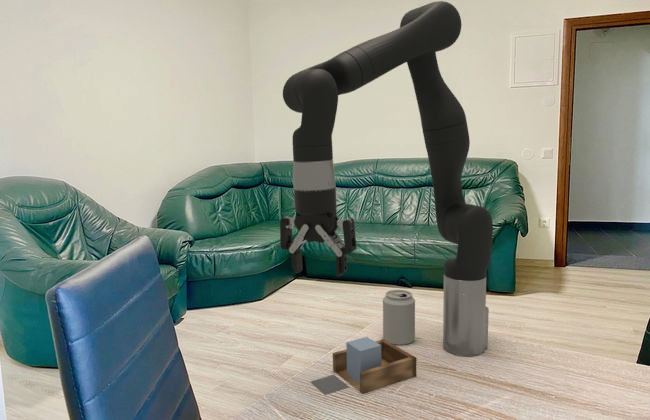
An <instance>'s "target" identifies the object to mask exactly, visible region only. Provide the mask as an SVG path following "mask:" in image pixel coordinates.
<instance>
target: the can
mask: <svg viewBox="0 0 650 420" xmlns="http://www.w3.org/2000/svg"><path fill="white" fill-rule="evenodd" d="M382 337H383V338H382V339H384V340H386V341H388V342H390V343H391V344H393V345H395V346H404V345H409V344H411V343H413V342H414V341H415V339H416V301H415V297H413V293H412V292H411V291H409V290H405V289H390V290H388V291H386V292H385V296H384V297H383V298H382Z"/></svg>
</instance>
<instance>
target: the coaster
mask: <svg viewBox="0 0 650 420" xmlns="http://www.w3.org/2000/svg"><path fill="white" fill-rule="evenodd" d="M310 383H311V384H312V385H313V386H314V387H315V388H316V389H317V390H319V391H320V392H321V393H322V394H323V395H324V396H326V395H329V394H333V393H336V392H339V391H342V390H344V389H347V388H348V389H349V388H350V386H349V385H348V384H346V383H345V382H344V380H343V381H342V379H340V378H339V377H338V376H337V375H335V374H331V375H328V376H324V377H320V378H318V379H314V380H311V381H310Z"/></svg>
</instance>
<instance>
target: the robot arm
mask: <svg viewBox="0 0 650 420" xmlns="http://www.w3.org/2000/svg"><path fill="white" fill-rule="evenodd" d="M461 31H462V18H461V15H460V12H459V11H458V9H457V8H456V6H455V5H453V4H452V3H450V2H448V1H444V0H440V1H432V2H430V3H427V4H425V5H422V6H420V7H416V8H413V9H411V10H409V11H407V12H405V13H404V15H403V16H402V18H401V21H400V24H399V28H397V29H394V30H392V31H389V32H387V33H385V34H384V33H383V35H382V34H381V35H380V36H376V37H374V38H371V39H368V40H366V41H364V42H360V43H359V44H357V45H354V46H352V47H350V48H348V49H346V50H345V51H342V52H340V53H338V54H337V55H335V56H333V57H332V58H330V59H328V60H325V61H323V62H321V63H317V64H316V65H313V66H311V67H308V68H306V69H302V70H300V71H298V72H296V73H294V74H291V76H290V77H288V79H287V80H286V82H285V83H284V85H283V88H282V99H283V101H284V103H285V106H287V107H288V108H289V109H290V110H291V111H293V112H296V113H298V114H299V113H300V114H301V119H300V120H301V121H300V126H299V127H298V128H296V129H295V130H294V131H293V134H292V157H293V158H292V160H293V169H292V186H293V199H294V200H293V201H294V211H295V217H293V216H291V215H286V216H284V217H282V218H280V220H279V231H280V232H279V233H280V234H279V235H280V236H279V237H280V240H279V242H280V243H279V247H280V249H281V250H286V251H288V252H289V254H290V260H291V261H290V263H291V264H290V265H291V269H292V270H293V271H294V273H295V274H300V273H301V272H302V271H303V269H304V268H303V267H304V265H303V251H301V250H302V247H303V246H304V244H305V243H306V242H307V243H313V242H316V243H320V244H323V243H325V244H326V245H327V246H328V247H329V248H331V250H332V251H333V252H334V253H335V254H336V256H335V258H334V259H335V275H336V277H342V276H344V275H345V273H346V272H347V270H348V262H347V261H348V260H347V255H349V254H351V253H353V252H354V251H356V250H357V239H356V229H355V220H354V218H352V217H348V218H347V219H346V218H345V219H339V218H338V216H337V189H336V188H337V187H336V186H337V185H336V172H335V171H336V170H335V166H334V164H335V163H334V156H333V154H334V153H333V152H334V151H333V132H334V128H335V122H336V117H337V111H338V105H339V96H340V95H341V96H342V95H345V94H349V93H352V92H355V91H357V90H358V89H360V88H362V87H364V86H366V85H368V84H369V83H372V82H373V81H375V80H376V79H378V78H380V77H383V76H384V75H386V74H387V73H388V72H391V71H392V70H394V69H396V68H398V67H399V66H401V65H403V64H405V63H406V64H407V67H408V68H407V69H408V71H409V73H410V78H411V81H412V84H413V88H414V94H415V97H416V101H417V107H418V108H417V109H418V110H419V116H420V122H421V129H422V135H423V140H424V145H425V149H426V152H427V158H428V159H427V160H428V163H429V169H430V175H431V180H432V181H431V182H432V188H433V197H434V210H435V220H436V226H437V230H438V232H439V234H440V236H441V238H443V239H444V240H445V241H447V242H449V243H452V244H455V245H457V252H456V257H455V258H451V259H447V260H446V261H445V262H444V263H443V309H442V310H443V311H442V313H443V315H442V317H443V318H442V321H443V323H442V324H443V325H442V347H443V349H444V350H445V351H446V352H448V353H450V354H453V355H456V356H462V357H463V356H465V357H471V356H472V357H474V356H478V355H481V354H483V353H484V352H485V350H486V349H488V347H489V342H488V341H489V307H487V305H486V303H487V297H486V296H487V275H488V274H487V273H488V272H487V271H488V268H489V267H490V264H491V260H492V246H493V245H492V244H493V237H494V236H493V234H494V222H493V218H492V215H491V212H490V211H489V210H487V209H486V207H482V206H480V205H476V204H470V203H469V204H468V203H466V200H465V197H464V192H463V188H462V187H463V186H462V175H463V171H464V167H465V164H466V161H467V158H468V155H469V151H470V146H471V145H470V141H471V140H470V133H469V127H468V121H467V117H466V113H465V110H464V108H463V106H462V105H461V103H460V101H459V100H458V98H457V97H456V95H454V93H453V92H452V91H451V89H450V88H449V86H448V84H447V83H446V82H445V81H444V78H443V76H442V74H441V72H440V67H439V64H438V59H437V54H436V53H437V52H441V51H443V50H445V49H449V47H452V46H453V45H454V44H455V43H456V42H457V40H458V39H459V36H460V34H461ZM294 227H296V229H297V230H298V233H297V235H296V236H295V237H294V239H293V228H294ZM338 227H339V228H340V231H341V232H343V241H342V238H341V236H339V234H338V233H337V231H336V230H337V229H338ZM343 242H344V243H343Z"/></svg>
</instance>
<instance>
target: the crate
mask: <svg viewBox="0 0 650 420" xmlns="http://www.w3.org/2000/svg"><path fill="white" fill-rule="evenodd" d="M375 342H376V343H378V344H380V345H381V366H379V367H375V368H372V369H369V370H366V371H362V372H360V384H359V383H357V382H356V381H355V380H353V379H352V378H351V377H349V376H348V375H347V348H346V349H342V350H339V351H335V352H332V370H333V371H332V372H334V373H335V374H336V375H338V376H339V377H340V378H342V379H343V381H346V382H347V383H348V384H349V385H351V386H352V387H354V389H356V390H357V391H359V392H360V393H361V394H362V395H364V394H368V393H370V392H374V391H377V390H379V389H383V388H385V387H388V386H391V385H394V384H397V383H400V382H404V381H406V380H410V379H413V378H416V377H417V357H415V356H414V355H413V354H410V353H409V352H407V351H406V350H404V349H402V348H401V347H398V345H395V344H391V343H390V342H388V341H386V340H384V339H383V338H382V339H379V340H375Z"/></svg>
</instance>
